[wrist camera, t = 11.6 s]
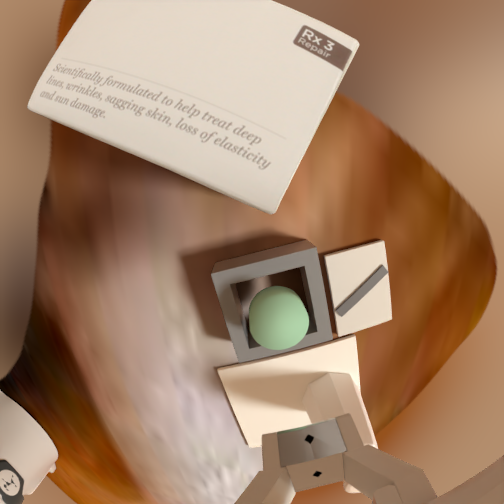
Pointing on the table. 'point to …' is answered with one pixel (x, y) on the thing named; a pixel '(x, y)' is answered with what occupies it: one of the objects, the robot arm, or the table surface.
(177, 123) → the skincare box
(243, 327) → the button housing
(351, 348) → the paper
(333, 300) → the card
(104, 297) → the table surface
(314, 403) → the pepper shaker
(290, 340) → the button
